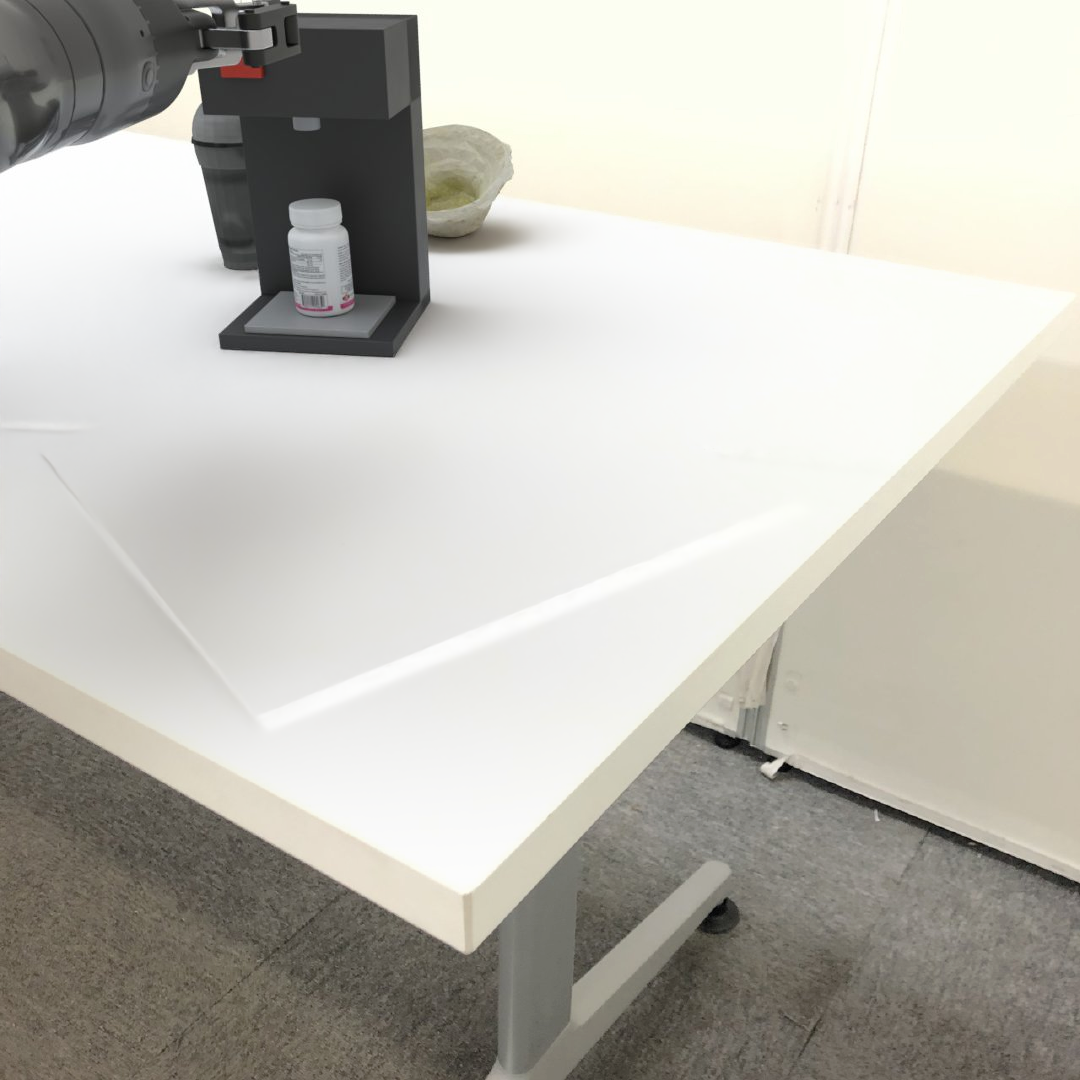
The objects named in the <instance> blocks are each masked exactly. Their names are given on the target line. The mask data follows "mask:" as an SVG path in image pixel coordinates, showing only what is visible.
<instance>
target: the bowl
mask: <svg viewBox="0 0 1080 1080" xmlns="http://www.w3.org/2000/svg"><path fill="white" fill-rule="evenodd" d="M423 148H424V169H425V191H426V213H427V235H430V236H434V237H439V238H459V237H463V236H465V235H469V234H470V233H473V232H475V231H476V230H478V228H479V227H481V226H482V225H483V223H484V222H485V220H486V218H487V216H488V215H489V212H490V210H491V208H492V205H493V202H494V201H495V200H496V199H497V197H498V196H499V194H500V193H501V190H503V188H504V186H505V185H506V184H507V182H509V181H511V180H512V179H513V176H514V173H515V169H514V164H513V162H512V160H513V155H512V152H513V151H512V148H511V145H510V144H508V143H506V142H504V141H502V140H500V139H499V138H498V137H497V136H494V135H493V134H491V133H490V132H488V131H485V130H484V129H481V128H479V127H475V126H472V125H466V124H465V125H464V124H459V123H454V124H453V123H452V124H446V125H440V126H434V127H433V126H432V127H428V128H423Z"/></svg>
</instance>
